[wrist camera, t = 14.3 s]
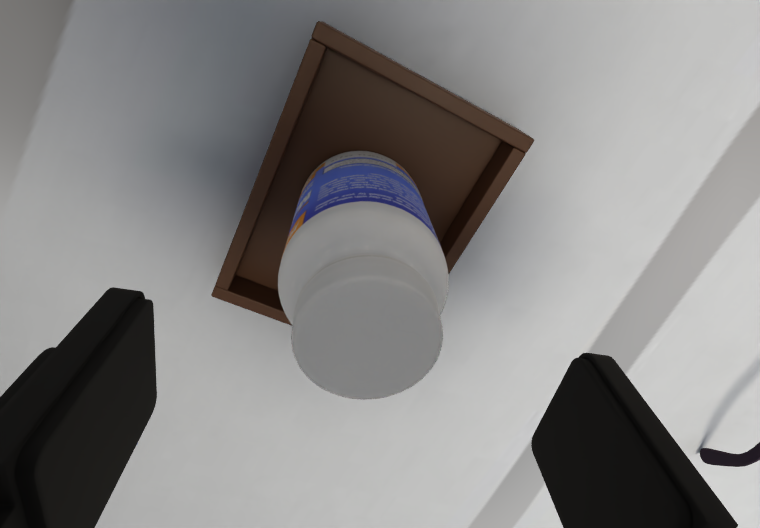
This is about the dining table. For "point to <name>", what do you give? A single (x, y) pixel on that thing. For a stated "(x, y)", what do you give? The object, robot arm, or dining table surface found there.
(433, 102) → the tray
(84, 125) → the dining table surface
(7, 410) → the robot arm
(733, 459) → the sunglasses
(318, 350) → the pill bottle
